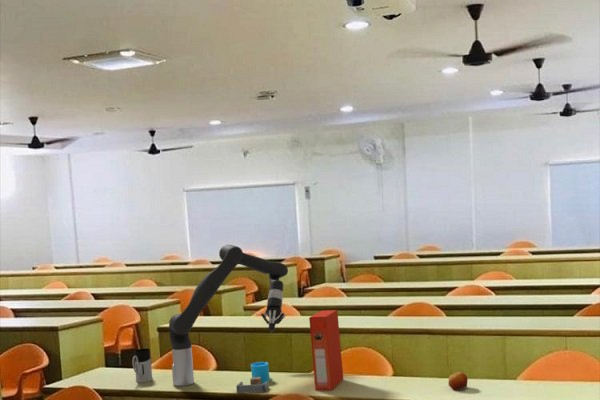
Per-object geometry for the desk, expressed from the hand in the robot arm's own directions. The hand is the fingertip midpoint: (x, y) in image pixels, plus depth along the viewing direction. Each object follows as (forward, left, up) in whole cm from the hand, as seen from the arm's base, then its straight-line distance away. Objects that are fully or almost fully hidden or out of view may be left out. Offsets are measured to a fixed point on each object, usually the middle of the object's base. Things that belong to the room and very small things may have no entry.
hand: (271, 331), depth 326 cm
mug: (-1, -19, -20) cm, 27 cm away
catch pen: (-1, -35, -19) cm, 40 cm away
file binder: (+33, -30, -20) cm, 48 cm away
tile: (-1, -30, -20) cm, 35 cm away
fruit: (+89, -40, -20) cm, 99 cm away
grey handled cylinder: (-64, -16, -20) cm, 69 cm away
